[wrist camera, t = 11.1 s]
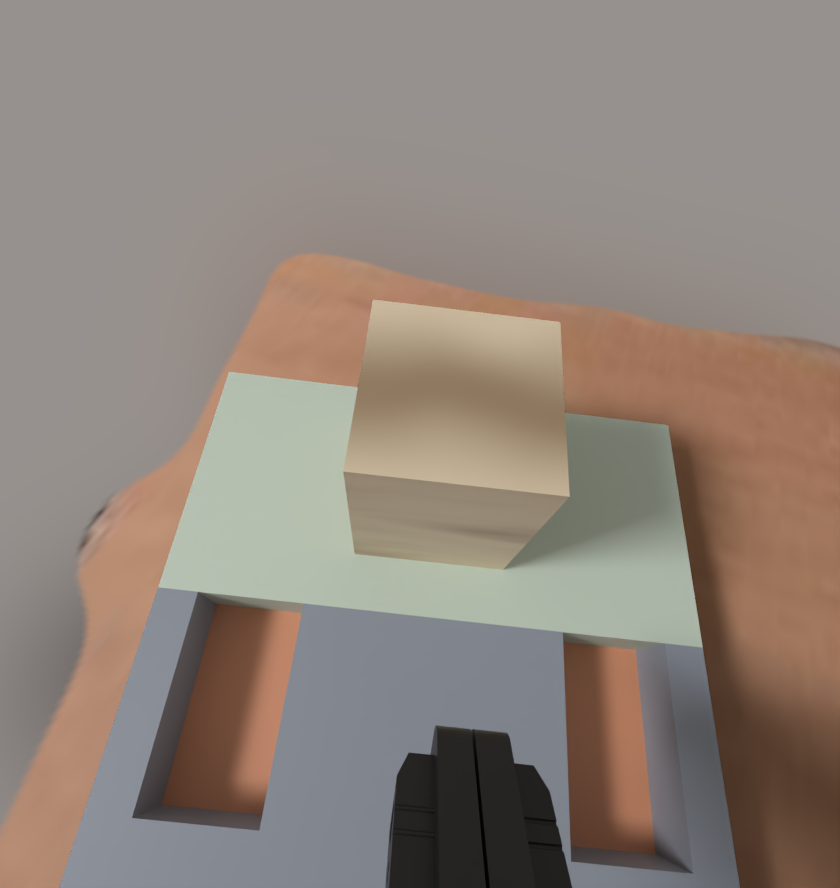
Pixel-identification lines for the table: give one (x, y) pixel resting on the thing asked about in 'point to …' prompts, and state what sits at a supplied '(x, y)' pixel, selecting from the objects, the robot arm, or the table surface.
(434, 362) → the birch block
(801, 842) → the table surface
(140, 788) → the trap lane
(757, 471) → the table surface
